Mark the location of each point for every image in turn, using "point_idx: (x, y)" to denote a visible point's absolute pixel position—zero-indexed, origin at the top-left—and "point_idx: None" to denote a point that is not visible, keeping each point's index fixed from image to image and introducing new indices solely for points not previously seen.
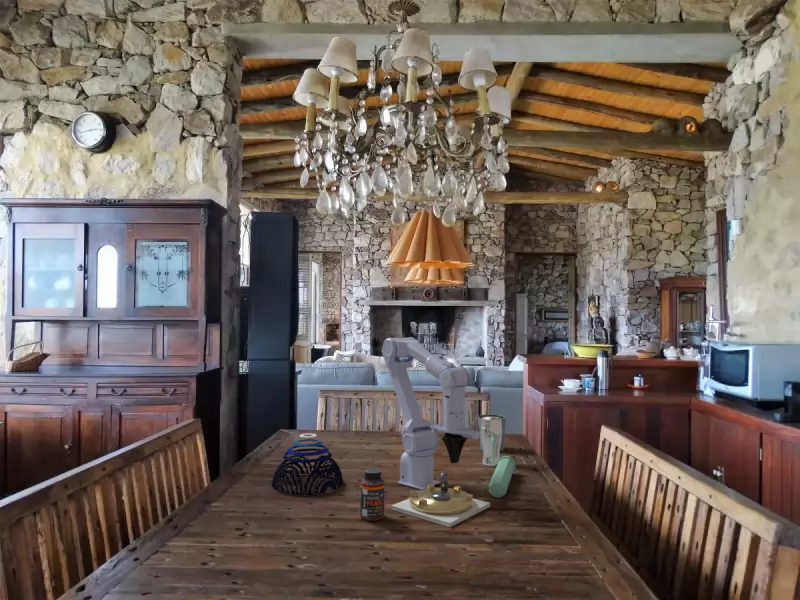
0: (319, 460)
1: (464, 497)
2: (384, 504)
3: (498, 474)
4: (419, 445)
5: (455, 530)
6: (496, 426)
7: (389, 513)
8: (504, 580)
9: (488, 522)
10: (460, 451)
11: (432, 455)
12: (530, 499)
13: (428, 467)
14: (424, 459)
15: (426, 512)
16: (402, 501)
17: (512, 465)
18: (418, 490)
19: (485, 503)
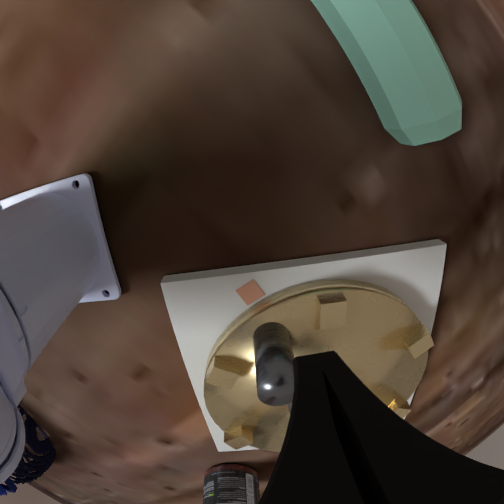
0: (8, 479)
1: (393, 338)
2: (251, 489)
3: (394, 11)
4: (4, 435)
5: (416, 408)
6: None
7: (237, 453)
8: (499, 418)
9: (466, 333)
10: (380, 410)
11: (6, 286)
12: (486, 72)
13: (60, 296)
14: (38, 348)
15: None
16: (211, 428)
17: None
18: (207, 402)
19: (437, 262)
